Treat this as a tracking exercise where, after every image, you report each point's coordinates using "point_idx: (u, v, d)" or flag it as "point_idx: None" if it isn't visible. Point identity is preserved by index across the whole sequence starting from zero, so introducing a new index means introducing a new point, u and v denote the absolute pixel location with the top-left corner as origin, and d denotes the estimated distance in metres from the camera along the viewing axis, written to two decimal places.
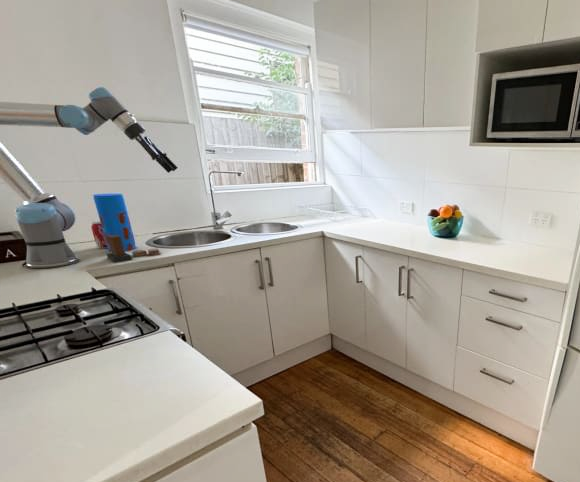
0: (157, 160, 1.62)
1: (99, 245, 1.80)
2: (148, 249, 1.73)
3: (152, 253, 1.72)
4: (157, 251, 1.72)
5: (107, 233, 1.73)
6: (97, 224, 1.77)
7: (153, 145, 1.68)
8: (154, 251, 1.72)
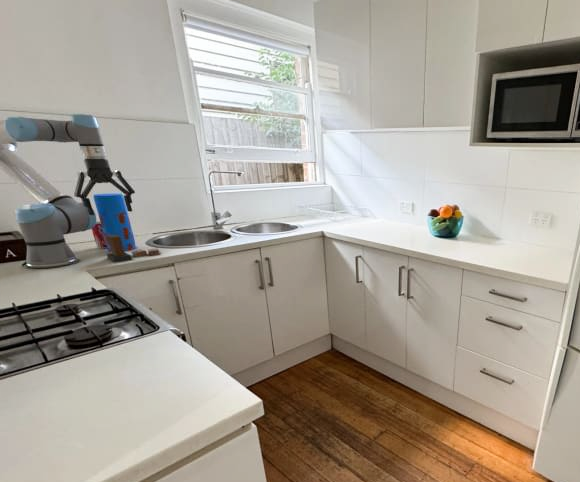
0: None
1: (99, 245, 1.80)
2: (148, 249, 1.73)
3: (152, 253, 1.72)
4: (157, 251, 1.72)
5: (107, 233, 1.73)
6: (97, 224, 1.77)
7: (112, 183, 1.56)
8: (154, 251, 1.72)
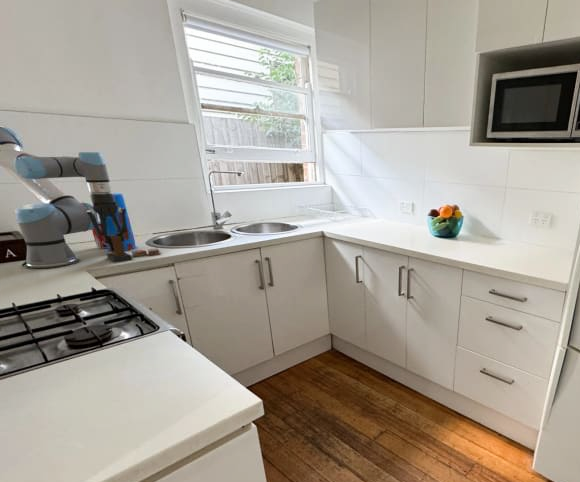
0: None
1: (99, 245, 1.80)
2: (148, 249, 1.73)
3: (152, 253, 1.72)
4: (157, 251, 1.72)
5: (107, 233, 1.73)
6: None
7: (112, 217, 1.58)
8: (154, 251, 1.72)
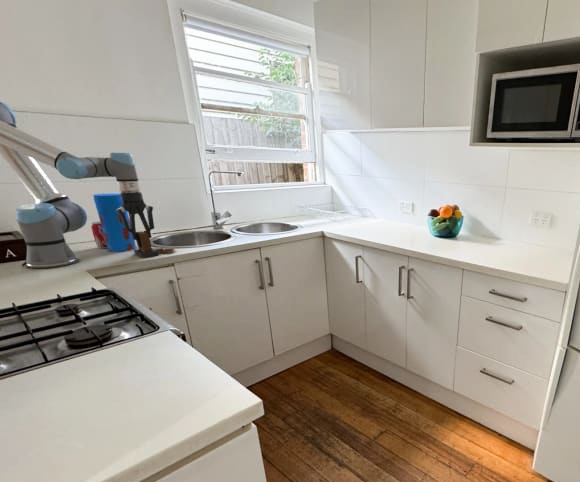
0: None
1: (99, 245, 1.80)
2: None
3: (166, 251, 1.75)
4: (171, 250, 1.76)
5: (107, 233, 1.73)
6: (97, 224, 1.77)
7: (140, 215, 1.66)
8: (168, 250, 1.75)
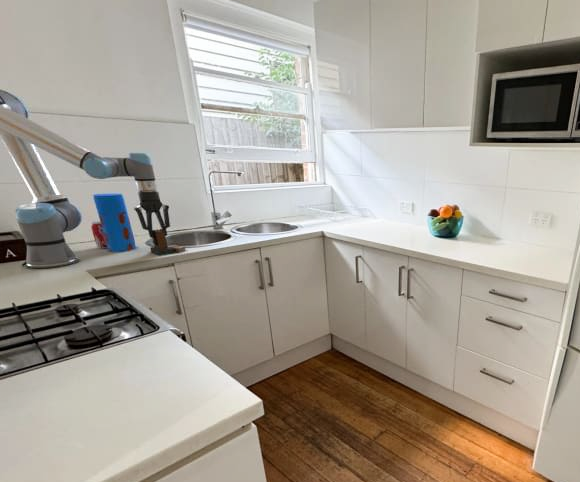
0: None
1: (99, 245, 1.80)
2: (177, 246, 1.80)
3: (174, 250, 1.77)
4: (177, 249, 1.77)
5: (107, 233, 1.73)
6: (97, 224, 1.77)
7: (157, 214, 1.71)
8: (175, 249, 1.77)
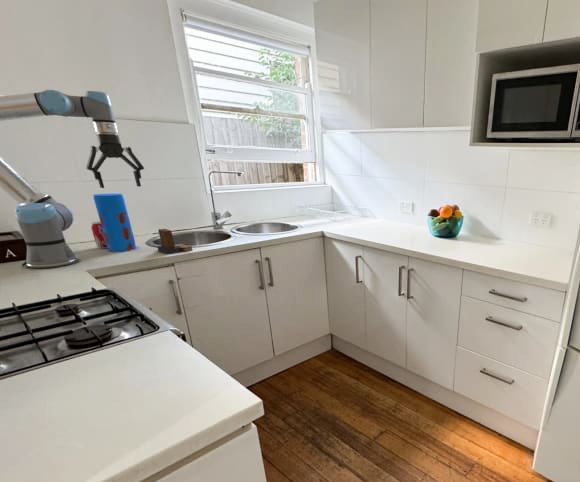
0: None
1: (99, 245, 1.80)
2: (184, 245, 1.82)
3: (180, 249, 1.79)
4: (184, 248, 1.78)
5: (107, 233, 1.73)
6: (97, 224, 1.77)
7: (123, 158, 1.64)
8: (181, 248, 1.79)
